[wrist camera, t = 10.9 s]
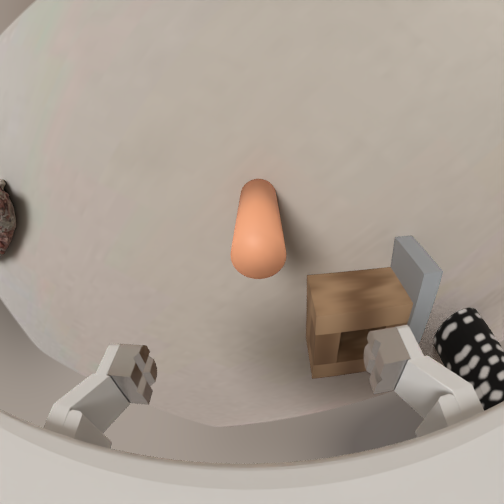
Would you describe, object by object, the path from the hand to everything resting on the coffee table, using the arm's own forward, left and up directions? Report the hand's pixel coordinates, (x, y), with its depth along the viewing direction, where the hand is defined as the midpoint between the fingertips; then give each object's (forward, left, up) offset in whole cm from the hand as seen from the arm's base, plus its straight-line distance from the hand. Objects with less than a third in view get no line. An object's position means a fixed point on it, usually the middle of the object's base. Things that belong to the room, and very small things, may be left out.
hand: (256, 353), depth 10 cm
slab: (-14, +13, -17) cm, 25 cm away
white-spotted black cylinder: (-27, +21, -17) cm, 38 cm away
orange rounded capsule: (0, 0, -17) cm, 17 cm away
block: (-9, +13, -17) cm, 23 cm away
